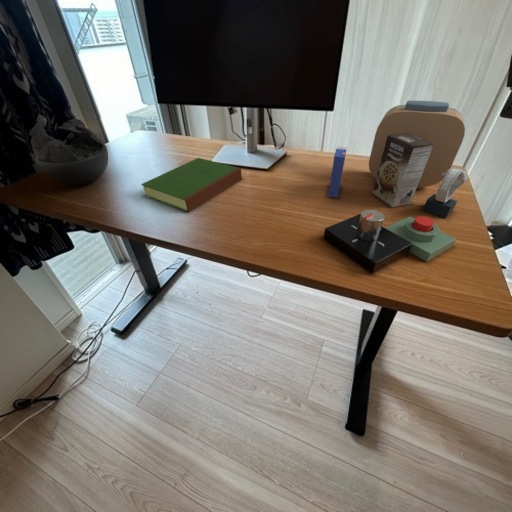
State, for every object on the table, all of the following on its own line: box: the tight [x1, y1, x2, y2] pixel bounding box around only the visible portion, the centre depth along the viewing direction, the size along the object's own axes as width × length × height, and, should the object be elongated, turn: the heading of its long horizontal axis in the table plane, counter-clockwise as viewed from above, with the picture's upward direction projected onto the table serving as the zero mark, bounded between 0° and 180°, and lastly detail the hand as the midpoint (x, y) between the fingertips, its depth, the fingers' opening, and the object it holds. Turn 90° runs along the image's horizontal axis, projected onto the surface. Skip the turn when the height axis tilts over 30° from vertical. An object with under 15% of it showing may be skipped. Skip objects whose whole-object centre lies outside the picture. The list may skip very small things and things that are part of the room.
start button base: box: [385, 215, 457, 263], centre depth 59 cm, size 11×9×4 cm
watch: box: [422, 167, 469, 219], centre depth 66 cm, size 6×8×11 cm
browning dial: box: [356, 209, 385, 241], centre depth 56 cm, size 4×4×5 cm
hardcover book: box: [140, 157, 243, 213], centre depth 84 cm, size 25×19×4 cm
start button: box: [413, 216, 435, 232], centre depth 57 cm, size 4×4×2 cm
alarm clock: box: [368, 100, 466, 190], centre depth 76 cm, size 21×10×22 cm, turn 63°
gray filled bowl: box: [28, 118, 109, 186], centre depth 85 cm, size 20×20×19 cm
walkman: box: [327, 146, 348, 199], centre depth 76 cm, size 8×3×12 cm, turn 162°
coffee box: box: [371, 133, 434, 208], centre depth 70 cm, size 9×6×16 cm
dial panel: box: [322, 213, 412, 275], centre depth 58 cm, size 14×11×3 cm
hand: (508, 117), depth 44 cm, fingers closed
